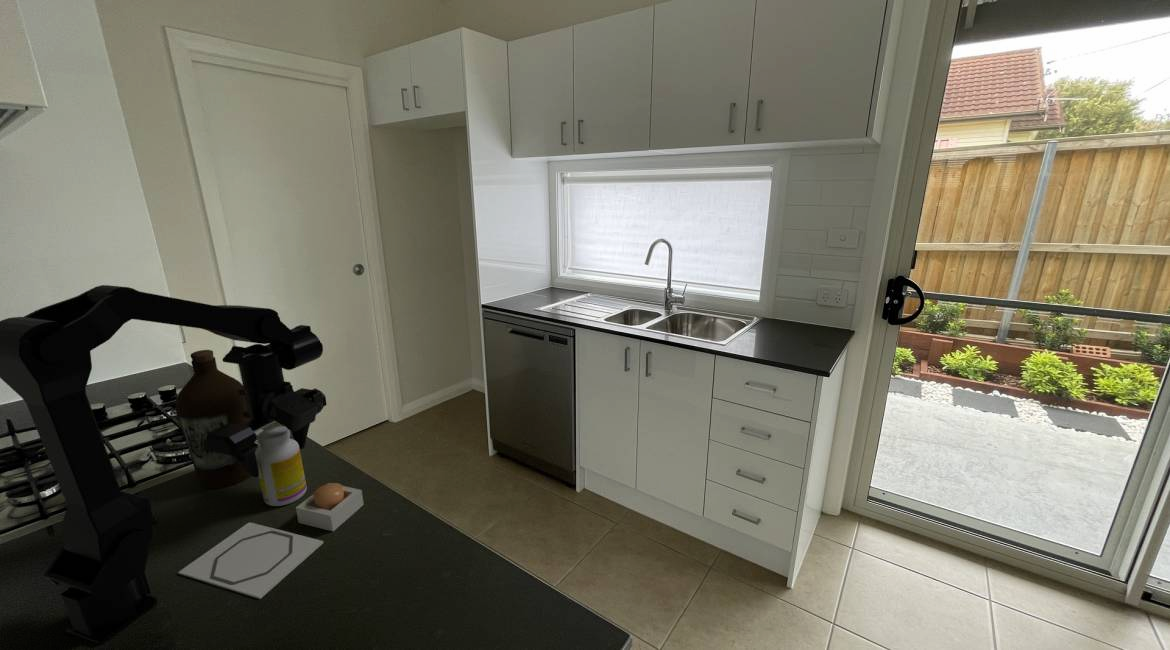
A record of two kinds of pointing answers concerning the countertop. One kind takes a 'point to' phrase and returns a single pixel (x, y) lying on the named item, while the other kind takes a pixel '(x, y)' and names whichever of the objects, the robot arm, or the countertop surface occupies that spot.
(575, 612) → the countertop surface
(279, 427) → the supplement bottle
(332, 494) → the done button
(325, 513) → the button housing
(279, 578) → the paper sheet
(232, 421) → the olive oil
